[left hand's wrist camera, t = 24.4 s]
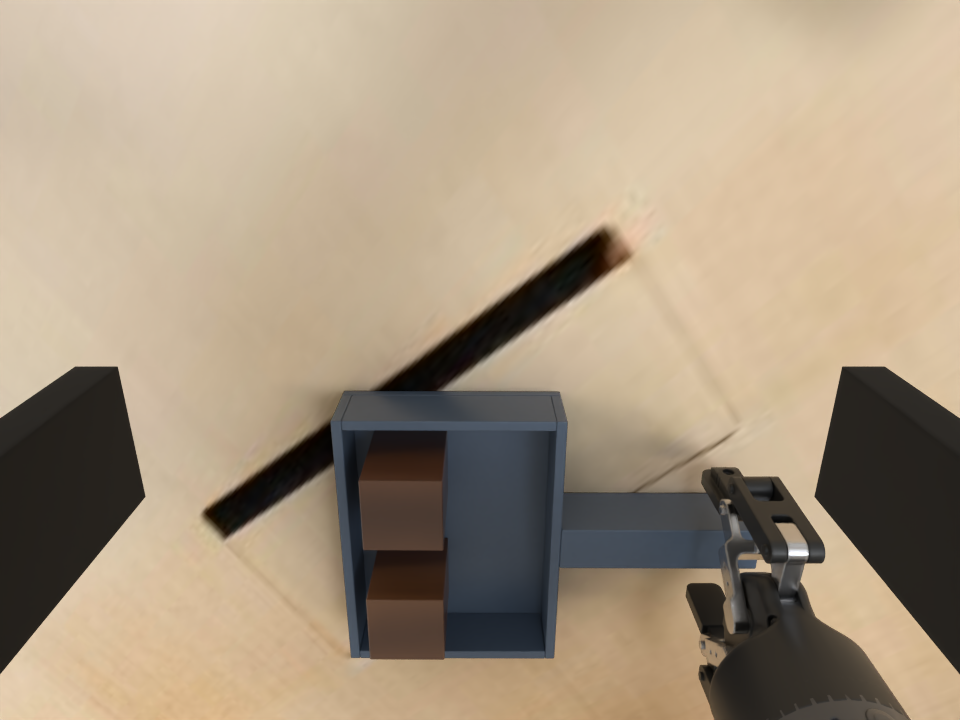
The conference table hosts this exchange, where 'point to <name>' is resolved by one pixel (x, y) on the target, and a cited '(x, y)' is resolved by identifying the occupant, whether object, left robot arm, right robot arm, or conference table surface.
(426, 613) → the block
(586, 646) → the conference table surface
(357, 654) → the tray
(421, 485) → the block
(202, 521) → the conference table surface
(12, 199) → the conference table surface
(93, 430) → the left robot arm
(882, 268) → the conference table surface
